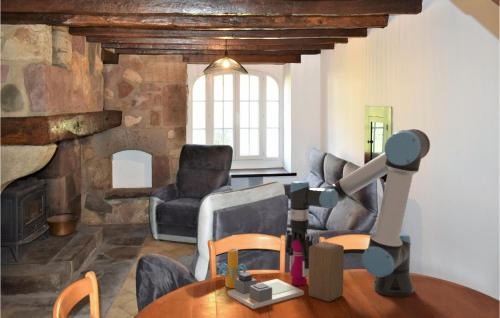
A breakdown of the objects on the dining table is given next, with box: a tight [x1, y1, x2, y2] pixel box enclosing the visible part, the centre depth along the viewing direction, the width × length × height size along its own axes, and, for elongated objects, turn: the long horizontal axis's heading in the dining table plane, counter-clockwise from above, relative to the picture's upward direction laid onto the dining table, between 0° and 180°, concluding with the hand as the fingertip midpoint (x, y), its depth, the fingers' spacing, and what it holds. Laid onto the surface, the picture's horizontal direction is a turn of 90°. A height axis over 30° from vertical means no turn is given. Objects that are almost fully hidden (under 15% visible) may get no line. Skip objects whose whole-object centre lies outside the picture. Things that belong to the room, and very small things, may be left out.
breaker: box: [239, 271, 253, 282], centre depth 198 cm, size 4×4×4 cm
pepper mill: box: [289, 240, 308, 286], centre depth 210 cm, size 7×7×20 cm
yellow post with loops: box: [218, 248, 248, 289], centre depth 207 cm, size 12×10×15 cm
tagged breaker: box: [254, 284, 268, 290], centre depth 190 cm, size 4×4×4 cm
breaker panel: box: [227, 277, 305, 310], centre depth 198 cm, size 17×24×6 cm
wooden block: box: [308, 241, 345, 303], centre depth 196 cm, size 10×10×20 cm
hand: (299, 273), depth 211 cm, fingers open, 8 cm apart
